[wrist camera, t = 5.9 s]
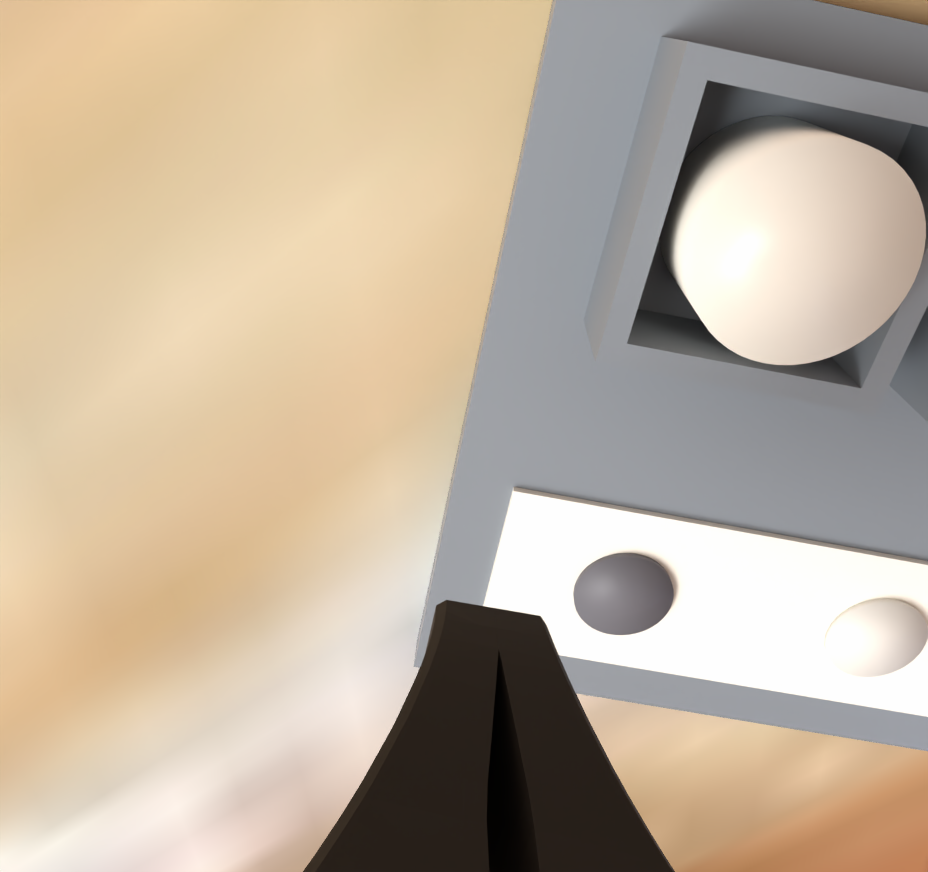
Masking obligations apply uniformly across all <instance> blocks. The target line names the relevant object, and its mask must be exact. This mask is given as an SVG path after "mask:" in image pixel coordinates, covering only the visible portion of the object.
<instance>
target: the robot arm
mask: <svg viewBox="0 0 928 872" xmlns="http://www.w3.org/2000/svg"><path fill="white" fill-rule="evenodd" d="M303 872H675V871H674V870H673V868H672V867H671V865H670V864H669V862H668V860H667V859H666V857H665V856H664V854H663V853H662V851H661V849H660V848H659V846H658V844H657V843H656V841H655V840H654V838H653V836H652V835H651V833H650V831H649V830H648V828H647V826H646V825H645V823H644V821H643V820H642V818H641V816H640V814H639V813H638V811H637V809H636V808H635V806H634V804H633V802H632V801H631V799H630V797H629V796H628V794H627V792H626V790H625V788H624V787H623V785H622V783H621V781H620V779H619V778H618V776H617V774H616V772H615V770H614V769H613V767H612V765H611V763H610V761H609V759H608V757H607V755H606V753H605V751H604V749H603V747H602V745H601V743H600V742H599V740H598V738H597V736H596V734H595V732H594V730H593V728H592V726H591V724H590V722H589V720H588V718H587V716H586V714H585V712H584V710H583V708H582V706H581V704H580V701H579V699H578V697H577V695H576V693H575V691H574V688H573V686H572V684H571V682H570V680H569V678H568V675H567V673H566V671H565V668H564V666H563V664H562V662H561V659H560V657H559V655H558V652H557V650H556V647H555V645H554V642H553V640H552V638H551V635H550V632H549V630H548V627H547V625H546V623H545V622H544V620H543V619H542V617H541V616H539V615H533V614H527V613H521V612H515V611H509V610H504V609H498V608H492V607H486V606H480V605H475V604H469V603H463V602H457V601H451V600H445V601H443V602H441V603H439V604H438V605H436V608H435V613H434V617H433V621H432V626H431V630H430V635H429V639H428V643H427V648H426V652H425V656H424V658H423V661H422V664H421V666H420V669H419V671H418V674H417V676H416V679H415V681H414V683H413V685H412V687H411V690H410V692H409V694H408V696H407V698H406V700H405V702H404V705H403V707H402V709H401V711H400V713H399V715H398V717H397V719H396V721H395V723H394V725H393V727H392V729H391V731H390V733H389V735H388V737H387V738H386V740H385V742H384V744H383V745H382V747H381V749H380V751H379V753H378V754H377V756H376V758H375V760H374V762H373V763H372V765H371V767H370V769H369V770H368V772H367V774H366V776H365V778H364V779H363V781H362V783H361V784H360V786H359V788H358V789H357V791H356V793H355V794H354V796H353V797H352V799H351V801H350V802H349V804H348V806H347V807H346V809H345V810H344V812H343V813H342V815H341V817H340V818H339V820H338V821H337V823H336V824H335V826H334V827H333V829H332V830H331V832H330V833H329V835H328V836H327V838H326V839H325V841H324V842H323V844H322V845H321V847H320V848H319V850H318V851H317V853H316V854H315V856H314V857H313V858H312V860H311V861H310V863H309V864H308V865H307V867H306V868H305V870H304V871H303Z"/></svg>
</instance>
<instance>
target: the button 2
mask: <svg viewBox="0 0 928 872" xmlns="http://www.w3.org/2000/svg"><path fill="white" fill-rule="evenodd" d="M925 240H926V221H925V214H924V208H923V205H922V202H921V199H920V196H919V193H918V191H917V189H916V187H915V185H914V183H913V181H912V180H911V179H910V177H909V176H908V175H907V173H906V172H905V171H904V169H903V168H902V167H901V166H900V165H898V164H897V163H896V162H895V161H894V160H893V159H892V158H890V157H889V156H887V155H886V154H884V153H883V152H881V151H879V150H877V149H875V148H873V147H871V146H869V145H866V144H864V143H861V142H858V141H856V140H853V139H850V138H848V137H845V136H842V135H840V134H837V133H834V132H832V131H829V130H826V129H824V128H821V127H818V126H815V125H813V124H810V123H807V122H805V121H801V120H798V119H794V118H789V117H782V116H764V117H757V118H751V119H748V120H744V121H740V122H737V123H735V124H733V125H730V126H728V127H725V128H724V129H722V130H720V131H718V132H717V133H715V134H713V135H712V136H710V137H709V138H708V139H706V140H705V141H704V142H702V143H701V144H700V145H699V146H698V147H697V148H696V149H694V150H693V151H692V152H691V153H690V154H689V156H688V157H687V158H686V159H685V160H684V161H683V163H682V165H681V168H680V171H679V175H678V178H677V181H676V184H675V188H674V191H673V194H672V198H671V201H670V204H669V207H668V211H667V214H666V217H665V221H664V224H663V227H662V230H661V234H660V237H659V242H660V248H661V252H662V255H663V258H664V261H665V264H666V266H667V268H668V270H669V272H670V273H671V275H672V276H673V278H674V279H675V281H676V282H677V284H678V285H679V287H680V289H681V290H682V292H683V293H684V295H685V296H686V298H687V299H688V301H689V302H690V304H691V305H692V307H693V308H694V310H695V311H696V313H697V314H698V316H699V317H700V319H701V320H702V322H703V323H704V325H705V326H706V328H707V329H708V331H709V332H710V333H711V334H712V335H713V336H714V337H715V338H716V339H717V340H718V341H719V342H720V343H721V344H723V345H724V346H725V347H726V348H728V349H730V350H731V351H733V352H735V353H736V354H738V355H740V356H743V357H745V358H748V359H750V360H753V361H757V362H761V363H766V364H774V365H797V364H806V363H811V362H815V361H820V360H823V359H826V358H829V357H832V356H835V355H837V354H839V353H841V352H843V351H846V350H848V349H850V348H851V347H853V346H855V345H856V344H858V343H860V342H861V341H863V340H864V339H866V338H867V337H868V336H870V335H871V334H872V333H874V332H875V331H876V330H877V329H878V328H879V327H880V326H882V325H883V324H884V323H885V322H886V321H887V320H888V319H889V318H890V316H891V315H892V314H893V313H894V312H895V311H896V310H897V308H898V307H899V306H900V304H901V303H902V301H903V300H904V298H905V297H906V296H907V294H908V292H909V290H910V288H911V286H912V285H913V283H914V281H915V278H916V276H917V273H918V271H919V268H920V265H921V261H922V258H923V254H924V248H925Z"/></svg>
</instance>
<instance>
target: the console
mask: <svg viewBox="0 0 928 872" xmlns="http://www.w3.org/2000/svg"><path fill="white" fill-rule="evenodd" d="M764 116H782V117H789V118H794V119H798V120H801V121H805V122H807V123H810V124H813V125H815V126H818V127H821V128H824V129H826V130H829V131H832V132H834V133H837V134H840V135H842V136H845V137H848V138H850V139H853V140H856V141H858V142H861V143H864V144H866V145H869V146H871V147H873V148H875V149H877V150H879V151H881V152H883V153H884V154H886V155H887V156H889V157H890V158H892V159H893V160H894V161H895V162H896V163H897V164H898V165H900V166H901V167H902V168H903V169H904V171H905V172H906V173H907V175H908V176H909V177H910V179H911V180H912V181H913V183H914V185H915V187H916V189H917V191H918V193H919V196H920V199H921V202H922V205H923V208H924V214H925V221H926V240H925V248H924V254H923V258H922V261H921V265H920V268H919V271H918V273H917V276H916V278H915V281H914V283H913V285H912V286H911V288H910V290H909V292H908V294H907V296H906V297H905V298H904V300H903V301H902V303H901V304H900V306H899V307H898V308H897V310H896V311H895V312H894V313H893V314H892V315H891V316H890V318H889V319H888V320H887V321H886V322H885V323H884V324H883V325H882V326H880V327H879V328H878V329H877V330H876V331H875V332H874V333H872V334H871V335H870V336H868V337H867V338H866V339H864V340H863V341H861V342H860V343H858V344H856V345H855V346H853V347H851V348H850V349H848V350H846V351H843V352H841V353H839V354H837V355H835V356H832V357H829V358H826V359H823V360H820V361H815V362H811V363H806V364H797V365H774V364H766V363H761V362H757V361H753V360H750V359H748V358H745V357H743V356H740V355H738V354H736V353H735V352H733V351H731V350H730V349H728V348H726V347H725V346H724V345H723V344H721V343H720V342H719V341H718V340H717V339H716V338H715V337H714V336H713V335H712V334H711V333H710V332H709V331H708V329H707V328H706V326H705V325H704V323H703V322H702V320H701V319H700V317H699V316H698V314H697V313H696V311H695V310H694V308H693V307H692V305H691V304H690V302H689V301H688V299H687V298H686V296H685V295H684V293H683V292H682V290H681V289H680V287H679V285H678V284H677V282H676V281H675V279H674V278H673V276H672V275H671V273H670V272H669V270H668V268H667V266H666V264H665V261H664V258H663V255H662V252H661V248H660V242H659V237H660V234H661V230H662V227H663V224H664V221H665V217H666V214H667V211H668V207H669V204H670V201H671V198H672V194H673V191H674V188H675V184H676V181H677V178H678V175H679V171H680V168H681V165H682V163H683V161H684V160H685V159H686V158H687V157H688V156H689V154H690V153H691V152H692V151H693V150H694V149H696V148H697V147H698V146H699V145H700V144H701V143H702V142H704V141H705V140H706V139H708V138H709V137H710V136H712V135H713V134H715V133H717V132H718V131H720V130H722V129H724V128H725V127H728V126H730V125H733V124H735V123H737V122H740V121H744V120H748V119H751V118H757V117H764ZM445 600H451V601H457V602H463V603H469V604H475V605H480V606H486V607H492V608H498V609H504V610H509V611H515V612H521V613H527V614H533V615H539V616H541V617H542V619H543V620H544V622H545V623H546V625H547V627H548V630H549V632H550V635H551V638H552V640H553V642H554V645H555V647H556V650H557V652H558V655H559V657H560V659H561V662H562V664H563V666H564V668H565V671H566V673H567V675H568V678H569V680H570V682H571V684H572V686H573V688H574V691H575V693H578V694H584V695H590V696H596V697H602V698H608V699H614V700H620V701H626V702H632V703H638V704H644V705H651V706H657V707H663V708H669V709H675V710H681V711H687V712H693V713H699V714H705V715H711V716H717V717H723V718H730V719H736V720H742V721H748V722H754V723H760V724H766V725H772V726H778V727H784V728H790V729H796V730H802V731H809V732H815V733H821V734H827V735H833V736H839V737H845V738H851V739H857V740H863V741H869V742H875V743H881V744H887V745H894V746H900V747H906V748H912V749H918V750H924V751H928V25H923V24H919V23H914V22H910V21H905V20H901V19H896V18H892V17H887V16H882V15H878V14H873V13H869V12H864V11H860V10H855V9H851V8H846V7H841V6H837V5H832V4H828V3H823V2H819V1H814V0H553V2H552V7H551V12H550V16H549V21H548V26H547V31H546V35H545V40H544V45H543V49H542V54H541V59H540V64H539V68H538V73H537V78H536V83H535V87H534V92H533V97H532V101H531V106H530V111H529V116H528V120H527V125H526V130H525V134H524V139H523V144H522V149H521V153H520V158H519V163H518V168H517V172H516V177H515V182H514V186H513V191H512V196H511V201H510V205H509V210H508V215H507V219H506V224H505V229H504V234H503V238H502V243H501V248H500V252H499V257H498V262H497V267H496V271H495V276H494V281H493V286H492V290H491V295H490V300H489V304H488V309H487V314H486V319H485V323H484V328H483V333H482V337H481V342H480V347H479V352H478V356H477V361H476V366H475V371H474V375H473V380H472V385H471V389H470V394H469V399H468V404H467V408H466V413H465V418H464V422H463V427H462V432H461V437H460V441H459V446H458V451H457V455H456V460H455V465H454V470H453V474H452V479H451V484H450V489H449V493H448V498H447V503H446V507H445V512H444V517H443V522H442V526H441V531H440V536H439V540H438V545H437V550H436V555H435V559H434V564H433V569H432V574H431V578H430V583H429V588H428V592H427V597H426V602H425V607H424V611H423V616H422V621H421V625H420V630H419V635H418V640H417V646H416V654H415V662H414V667H420V666H421V664H422V661H423V658H424V656H425V652H426V648H427V643H428V639H429V635H430V630H431V626H432V621H433V617H434V613H435V608H436V605H438V604H439V603H441V602H443V601H445Z"/></svg>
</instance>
